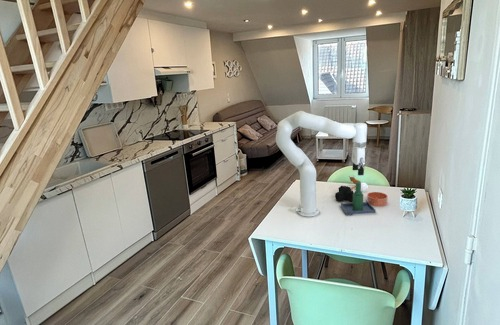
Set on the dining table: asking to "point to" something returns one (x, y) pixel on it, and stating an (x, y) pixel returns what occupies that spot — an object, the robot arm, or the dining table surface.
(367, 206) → the tray
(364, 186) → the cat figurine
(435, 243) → the dining table surface
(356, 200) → the bottle
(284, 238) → the dining table surface
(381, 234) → the dining table surface
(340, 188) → the film camera
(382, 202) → the bowl
